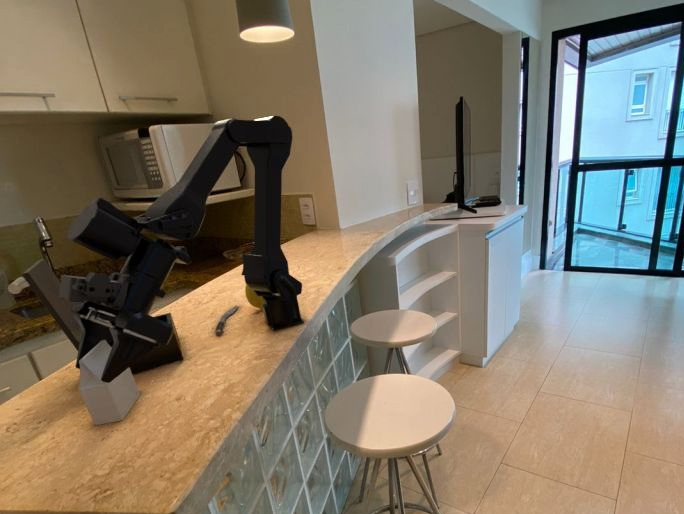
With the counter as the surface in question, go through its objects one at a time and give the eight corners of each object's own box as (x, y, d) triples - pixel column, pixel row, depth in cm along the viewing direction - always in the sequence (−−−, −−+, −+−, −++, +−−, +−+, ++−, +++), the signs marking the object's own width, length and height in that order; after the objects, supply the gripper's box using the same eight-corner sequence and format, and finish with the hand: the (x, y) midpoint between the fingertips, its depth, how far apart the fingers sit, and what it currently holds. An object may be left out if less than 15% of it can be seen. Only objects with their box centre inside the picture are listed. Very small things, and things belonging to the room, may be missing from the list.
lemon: (267, 313, 91) (259, 279, 88) (245, 314, 93) (237, 280, 89) (278, 304, 96) (271, 272, 93) (257, 305, 98) (249, 273, 94)
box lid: (43, 258, 69) (14, 268, 68) (27, 272, 60) (-8, 284, 58) (92, 328, 76) (66, 339, 74) (84, 351, 66) (54, 364, 65)
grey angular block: (140, 394, 64) (117, 337, 60) (122, 420, 58) (95, 358, 54) (115, 398, 64) (90, 341, 60) (95, 425, 57) (65, 363, 53)
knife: (228, 330, 83) (213, 332, 82) (229, 333, 83) (214, 335, 82) (238, 304, 98) (225, 305, 97) (238, 306, 98) (225, 308, 98)
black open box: (179, 338, 84) (170, 312, 81) (183, 359, 74) (173, 331, 72) (102, 359, 78) (91, 331, 76) (96, 385, 68) (83, 355, 66)
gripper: (60, 245, 60) (1, 344, 56) (119, 251, 49) (51, 373, 46) (133, 280, 69) (86, 367, 65) (196, 291, 58) (145, 396, 54)
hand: (91, 375), depth 57 cm, fingers open, 8 cm apart
